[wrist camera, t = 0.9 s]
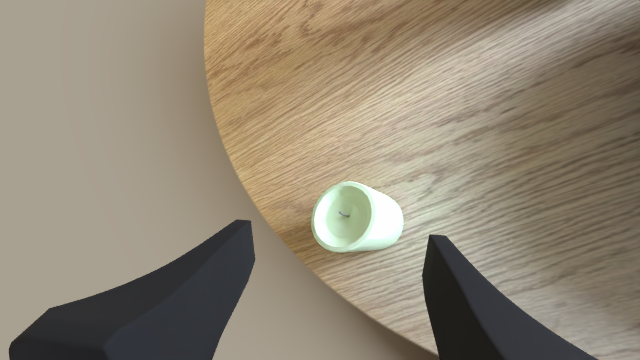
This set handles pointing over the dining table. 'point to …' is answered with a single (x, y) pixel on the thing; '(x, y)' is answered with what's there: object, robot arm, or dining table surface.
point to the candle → (355, 219)
